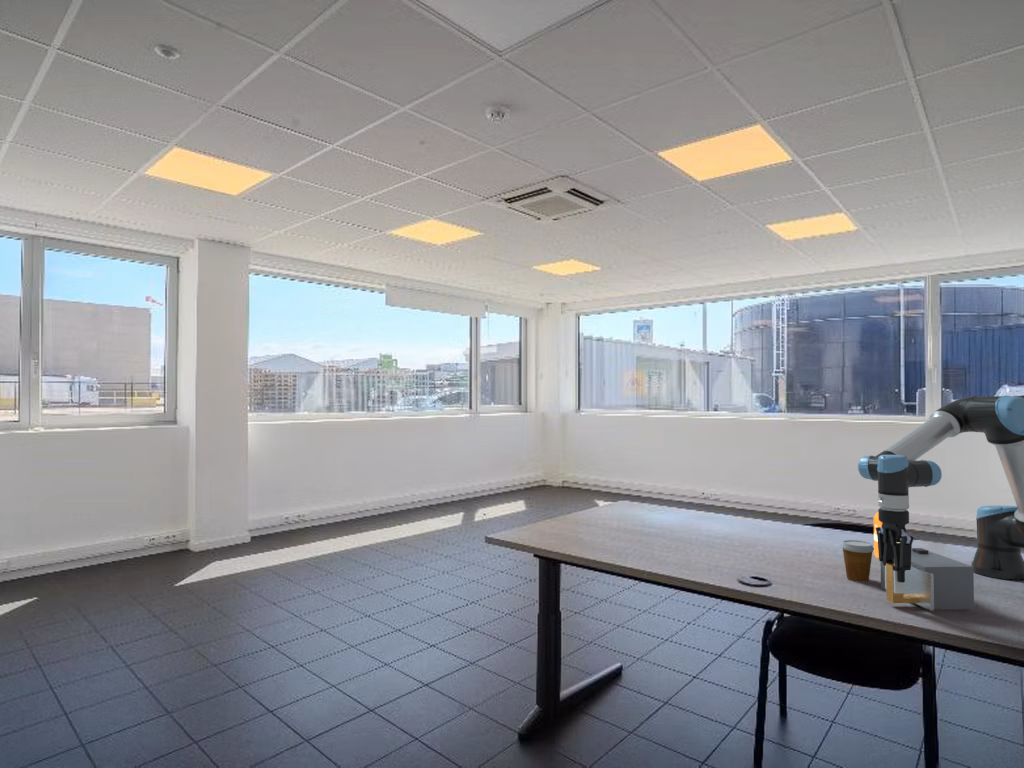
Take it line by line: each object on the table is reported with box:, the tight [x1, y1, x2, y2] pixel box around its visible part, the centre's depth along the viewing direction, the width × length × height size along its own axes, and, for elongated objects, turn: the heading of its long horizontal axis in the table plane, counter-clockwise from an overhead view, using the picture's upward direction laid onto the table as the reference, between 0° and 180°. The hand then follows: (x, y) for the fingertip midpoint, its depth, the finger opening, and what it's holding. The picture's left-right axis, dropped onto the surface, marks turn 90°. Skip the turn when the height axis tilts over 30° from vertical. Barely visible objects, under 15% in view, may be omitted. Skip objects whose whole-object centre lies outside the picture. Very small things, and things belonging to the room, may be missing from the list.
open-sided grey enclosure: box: [880, 547, 975, 611], centre depth 182 cm, size 14×20×13 cm
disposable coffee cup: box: [840, 539, 874, 583], centre depth 201 cm, size 10×10×12 cm
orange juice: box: [872, 511, 900, 559], centre depth 227 cm, size 8×9×20 cm
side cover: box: [885, 563, 935, 612], centre depth 175 cm, size 8×13×11 cm, turn 2°
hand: (894, 590), depth 175 cm, fingers closed on side cover, 3 cm apart
